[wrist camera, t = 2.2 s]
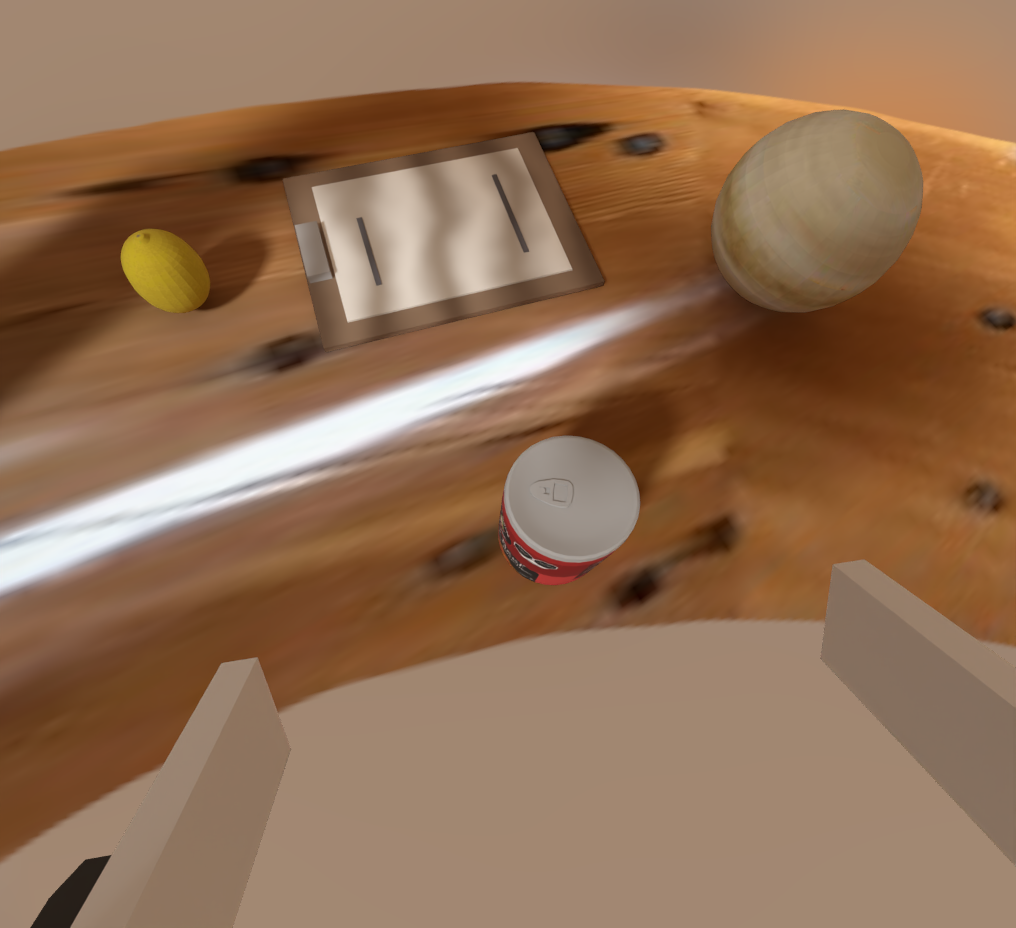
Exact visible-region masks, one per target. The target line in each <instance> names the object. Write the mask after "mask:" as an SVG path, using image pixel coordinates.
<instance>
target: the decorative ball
mask: <svg viewBox="0 0 1016 928" xmlns="http://www.w3.org/2000/svg"><path fill="white" fill-rule="evenodd" d="M922 197H923V177H922V172H921V168H920V165H919V162H918V159H917V157H916V154H915V152H914V150H913V148H912V147H911V145H910V143H909V142H908V141H907V139H906V138H905V137H904V136H903V135H902V134H901V133H900V132H899V131H898V130H897V129H895V128H894V127H893V126H891V125H890V124H888V123H887V122H885V121H883V120H882V119H880V118H878V117H876V116H873V115H871V114H867V113H861V112H855V111H849V110H831V111H823V112H815V113H812V114H809V115H806V116H803V117H800V118H797V119H795V120H792V121H789V122H787V123H785V124H783V125H782V126H780V127H778V128H777V129H775V130H774V131H772V132H770V133H769V134H767V135H766V136H764V137H763V138H761V139H760V140H759V141H758V142H757V143H756V144H755V145H754V146H752V147H751V148H750V149H749V150H748V151H747V152H746V153H745V154H744V156H743V157H742V158H741V159H740V161H739V162H738V163H737V164H736V166H735V167H734V168H733V170H732V171H731V172H730V174H729V175H728V177H727V179H726V181H725V183H724V185H723V187H722V189H721V192H720V194H719V196H718V198H717V201H716V205H715V209H714V214H713V219H712V225H711V237H712V249H713V253H714V258H715V261H716V263H717V266H718V268H719V270H720V272H721V274H722V275H723V277H724V279H725V280H726V281H727V282H728V284H729V285H730V286H731V287H732V288H733V289H734V290H735V291H736V292H737V293H738V294H739V295H740V296H742V297H743V298H745V299H746V300H748V301H749V302H751V303H753V304H755V305H758V306H760V307H763V308H766V309H770V310H774V311H778V312H810V311H814V310H819V309H823V308H828V307H832V306H835V305H837V304H839V303H841V302H844V301H846V300H848V299H850V298H852V297H854V296H856V295H858V294H859V293H861V292H862V291H864V290H865V289H867V288H868V287H869V286H871V285H872V284H874V283H875V282H876V281H877V280H878V279H879V278H880V277H881V276H882V275H883V274H884V273H885V272H886V271H887V270H888V269H889V268H890V267H891V266H892V265H893V264H894V263H895V262H896V261H897V260H898V258H899V257H900V255H901V254H902V252H903V250H904V249H905V247H906V246H907V244H908V242H909V241H910V239H911V237H912V235H913V233H914V230H915V227H916V225H917V222H918V219H919V216H920V212H921V208H922Z"/></svg>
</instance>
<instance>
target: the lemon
mask: <svg viewBox="0 0 1016 928" xmlns="http://www.w3.org/2000/svg"><path fill="white" fill-rule="evenodd" d="M121 263H122V267H123V270H124V273H125V275H126V277H127V278H128V280H129V282H130V283H131V285H132V286H133V288H134V289H135V290H136V292H137V293H138V294H139V295H140V296H141V297H143V298H144V299H145V300H146V301H147V302H149V303H150V304H151V305H153V306H155V307H157V308H159V309H162V310H164V311H167V312H173V313H186V312H190V311H192V310H195V309H197V308H198V307H200V306H201V305H202V304H203V303H204V302H205V301H206V299H207V297H208V295H209V291H210V278H209V274H208V271H207V269H206V267H205V265H204V263H203V261H202V259H201V258H200V256H199V255H198V254H197V253H196V252H195V251H194V250H193V249H192V248H191V247H190V246H189V245H188V244H187V243H186V242H185V241H184V240H182V239H181V238H179V237H178V236H176V235H174V234H172V233H170V232H168V231H164V230H160V229H144V230H140V231H137V232H135V233H133V234H132V235H131V236H129V237H128V239H127V240H126V241H125V242H124V245H123V247H122V250H121Z"/></svg>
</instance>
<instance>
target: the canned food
mask: <svg viewBox="0 0 1016 928" xmlns="http://www.w3.org/2000/svg"><path fill="white" fill-rule="evenodd" d="M639 508H640V495H639V490H638V486H637V482H636V480H635V478H634V476H633V474H632V472H631V470H630V468H629V467H628V466H627V464H626V463H625V462H624V460H623V459H622V458H621V457H619V456H618V455H617V454H616V453H615V452H614V451H613V450H611V449H609V448H608V447H606V446H605V445H603V444H601V443H599V442H596V441H594V440H592V439H588V438H583V437H579V436H558V437H552V438H549V439H545V440H542V441H540V442H538V443H536V444H534V445H532V446H531V447H529V448H528V449H527V450H526V451H525V452H523V453H522V454H521V455H520V456H519V458H518V459H517V460H516V461H515V463H514V464H513V466H512V468H511V470H510V472H509V474H508V476H507V479H506V483H505V487H504V492H503V497H502V505H501V512H500V520H499V528H498V538H499V544H500V548H501V550H502V553H503V555H504V557H505V558H506V560H507V561H508V563H509V564H510V565H511V566H512V568H513V569H514V570H515V571H516V572H518V573H519V574H521V575H522V576H523V577H525V578H527V579H529V580H531V581H534V582H537V583H541V584H545V585H559V584H566V583H569V582H572V581H575V580H577V579H578V578H580V577H582V576H583V575H585V574H586V573H587V572H589V571H590V570H591V569H593V568H594V567H595V566H596V565H598V564H599V563H600V562H602V561H603V560H604V559H605V558H607V557H608V556H609V555H611V554H612V553H613V552H614V551H615V550H616V549H617V548H618V547H619V546H621V545H622V544H623V543H624V542H625V541H626V539H627V538H628V536H629V535H630V533H631V532H632V530H633V528H634V526H635V524H636V521H637V519H638V515H639Z"/></svg>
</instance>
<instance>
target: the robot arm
mask: <svg viewBox="0 0 1016 928" xmlns="http://www.w3.org/2000/svg"><path fill="white" fill-rule="evenodd" d="M821 660H822V661H823V662H824V663H825V664H826V665H827V666H828V667H829V668H830V669H831V670H832V671H833V672H834V673H835V675H836V676H837V677H838V678H839V679H840V680H841V681H842V682H843V683H844V684H845V685H846V686H847V687H848V688H849V689H850V691H852V693H853V694H854V695H855V696H856V697H857V698H858V699H859V700H860V701H861V702H862V703H863V704H864V705H865V706H866V708H867V709H868V710H869V711H870V712H871V713H872V714H873V715H874V716H875V717H876V718H877V719H878V720H879V721H880V722H881V724H882V725H883V726H884V727H885V728H886V729H887V730H888V731H889V732H890V733H891V734H892V735H893V736H894V737H895V738H896V739H897V741H898V742H899V743H900V744H901V745H902V746H903V747H904V748H905V749H906V750H907V751H908V752H909V753H910V754H911V755H912V756H913V758H914V759H915V760H916V761H917V762H918V763H919V764H920V765H921V766H922V767H923V768H924V769H925V770H926V771H927V773H929V775H931V777H932V778H933V779H934V780H935V781H936V782H937V783H938V784H939V785H940V786H941V787H942V789H943V790H944V791H945V792H946V793H947V794H948V795H949V796H950V797H951V798H952V799H953V800H954V801H955V802H956V803H957V805H958V806H959V807H960V808H961V809H962V810H963V811H964V812H965V813H966V814H967V815H968V816H969V817H970V818H971V819H972V821H973V822H974V823H975V824H976V825H977V826H978V827H979V828H980V829H981V830H982V831H983V832H984V833H985V834H986V835H987V836H988V838H989V839H990V840H991V841H992V842H993V843H994V844H995V845H996V846H997V847H998V848H999V849H1000V850H1001V851H1002V852H1003V854H1004V855H1005V856H1006V857H1007V858H1008V859H1009V860H1010V861H1011V862H1012V863H1013V864H1014V865H1015V866H1016V667H1014V666H1013V665H1011V664H1010V663H1009V662H1007V661H1006V660H1004V659H1003V658H1002V657H1000V656H999V655H997V654H996V653H995V652H993V651H992V650H990V649H989V648H988V647H986V646H985V645H983V644H982V643H981V642H979V641H978V640H976V639H975V638H974V637H972V636H971V635H969V634H968V633H967V632H965V631H964V630H962V629H961V628H960V627H958V626H957V625H955V624H954V623H953V622H951V621H950V620H948V619H947V618H946V617H944V616H943V615H941V614H940V613H939V612H937V611H936V610H934V609H933V608H932V607H930V606H929V605H927V604H926V603H925V602H923V601H922V600H920V599H919V598H918V597H916V596H915V595H913V594H912V593H911V592H909V591H908V590H906V589H905V588H904V587H902V586H901V585H899V584H898V583H897V582H895V581H894V580H892V579H891V578H890V577H888V576H887V575H885V574H884V573H883V572H881V571H880V570H878V569H877V568H876V567H874V566H873V565H871V564H870V563H869V562H867V561H866V560H858V561H852V562H846V563H840V564H833V567H832V575H831V582H830V590H829V597H828V605H827V613H826V620H825V628H824V636H823V643H822V651H821ZM290 751H291V748H290V745H289V743H288V740H287V737H286V734H285V732H284V729H283V726H282V724H281V721H280V718H279V715H278V712H277V709H276V707H275V704H274V701H273V699H272V696H271V693H270V690H269V688H268V685H267V682H266V679H265V677H264V674H263V671H262V668H261V666H260V663H259V660H258V658H251V659H245V660H238V661H232V662H226V663H221V665H220V667H219V669H218V670H217V672H216V674H215V676H214V677H213V679H212V681H211V683H210V684H209V686H208V688H207V690H206V691H205V693H204V695H203V697H202V698H201V700H200V702H199V704H198V705H197V707H196V709H195V711H194V712H193V714H192V716H191V718H190V719H189V721H188V723H187V725H186V726H185V728H184V730H183V732H182V733H181V735H180V737H179V739H178V740H177V742H176V744H175V746H174V747H173V749H172V751H171V753H170V754H169V756H168V758H167V760H166V761H165V763H164V765H163V766H162V768H161V770H160V772H159V774H158V775H157V777H156V779H155V780H154V782H153V784H152V786H151V787H150V789H149V791H148V793H147V795H146V797H145V798H144V800H143V802H142V803H141V805H140V807H139V809H138V810H137V812H136V814H135V816H134V817H133V819H132V821H131V822H130V824H129V826H128V828H127V829H126V831H125V833H124V835H123V836H122V838H121V840H120V842H119V844H118V845H117V847H116V849H115V850H114V852H113V854H112V855H110V856H104V857H98V858H92V859H87V860H85V861H84V862H83V863H82V864H81V865H80V866H79V867H78V868H77V869H76V870H75V871H74V872H73V874H71V876H70V877H69V878H68V879H67V880H66V881H65V882H64V883H63V884H62V885H61V886H60V887H59V888H58V889H57V890H56V891H55V893H54V894H53V895H52V896H51V897H50V898H49V899H48V901H47V903H46V904H45V906H44V907H43V909H42V910H41V912H40V914H39V915H38V917H37V918H36V920H35V921H34V923H33V925H32V926H31V928H233V925H234V921H235V919H236V915H237V912H238V909H239V906H240V903H241V900H242V897H243V894H244V891H245V888H246V885H247V882H248V879H249V876H250V873H251V870H252V867H253V864H254V861H255V857H256V855H257V852H258V848H259V845H260V842H261V839H262V836H263V833H264V830H265V827H266V824H267V821H268V818H269V815H270V812H271V809H272V806H273V803H274V800H275V796H276V794H277V791H278V787H279V784H280V781H281V778H282V775H283V772H284V769H285V766H286V763H287V760H288V757H289V754H290Z"/></svg>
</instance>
